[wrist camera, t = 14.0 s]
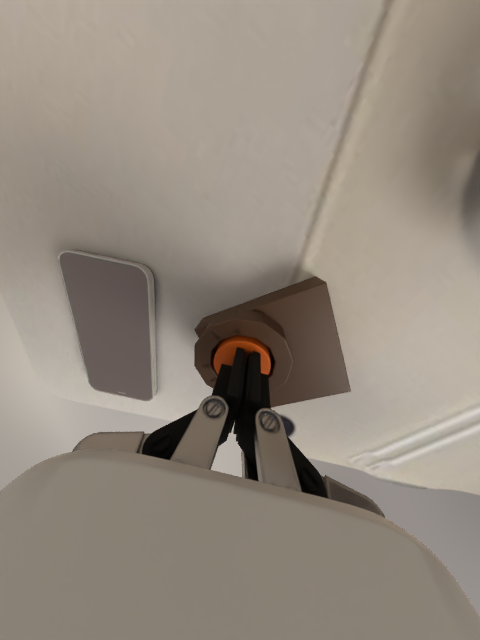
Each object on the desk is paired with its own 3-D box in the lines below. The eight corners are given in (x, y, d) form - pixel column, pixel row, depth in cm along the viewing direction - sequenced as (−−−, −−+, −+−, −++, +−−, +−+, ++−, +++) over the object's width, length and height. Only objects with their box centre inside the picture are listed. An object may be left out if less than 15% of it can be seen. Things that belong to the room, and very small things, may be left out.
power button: (231, 375, 15) (227, 391, 13) (210, 337, 13) (203, 351, 12) (276, 363, 14) (278, 379, 12) (258, 321, 12) (258, 333, 11)
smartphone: (149, 267, 13) (153, 403, 19) (155, 266, 14) (158, 396, 20) (54, 247, 13) (89, 389, 19) (66, 247, 14) (96, 383, 20)
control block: (240, 396, 19) (236, 432, 15) (195, 315, 15) (176, 338, 12) (340, 373, 16) (363, 410, 13) (314, 270, 13) (336, 281, 9)
